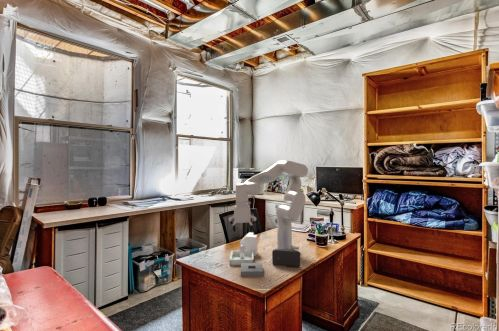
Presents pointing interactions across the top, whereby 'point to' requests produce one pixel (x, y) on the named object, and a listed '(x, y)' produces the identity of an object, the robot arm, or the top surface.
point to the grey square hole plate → (251, 269)
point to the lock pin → (242, 251)
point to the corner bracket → (250, 243)
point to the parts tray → (237, 261)
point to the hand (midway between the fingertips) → (242, 231)
